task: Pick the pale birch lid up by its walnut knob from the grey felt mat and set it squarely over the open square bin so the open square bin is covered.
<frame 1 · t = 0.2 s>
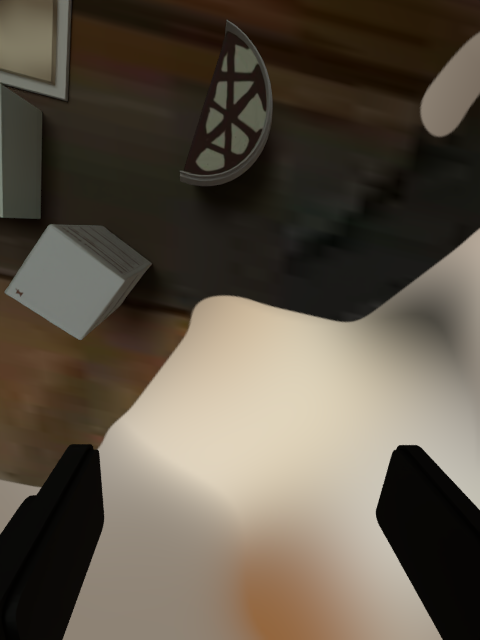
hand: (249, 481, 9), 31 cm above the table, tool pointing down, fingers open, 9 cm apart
supplement box: (112, 266, 37), on the table
grey half-round piece: (230, 147, 34), on the table
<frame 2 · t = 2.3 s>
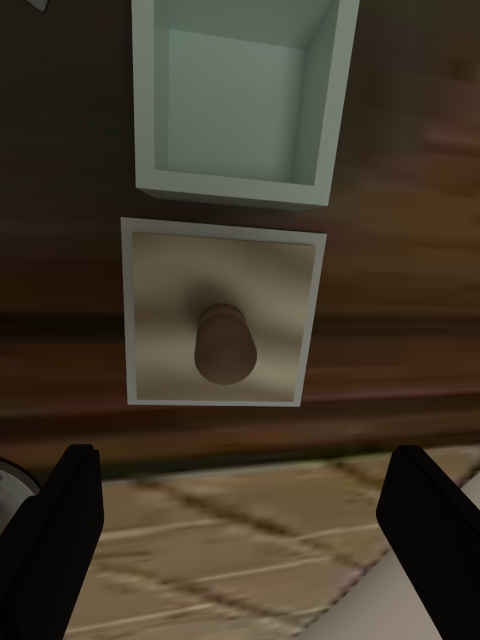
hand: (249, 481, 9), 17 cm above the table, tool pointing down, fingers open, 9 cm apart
open square bin: (233, 124, 21), on the table
mat: (221, 321, 26), on the table
lid: (221, 323, 25), point 1 cm above the table, touching mat
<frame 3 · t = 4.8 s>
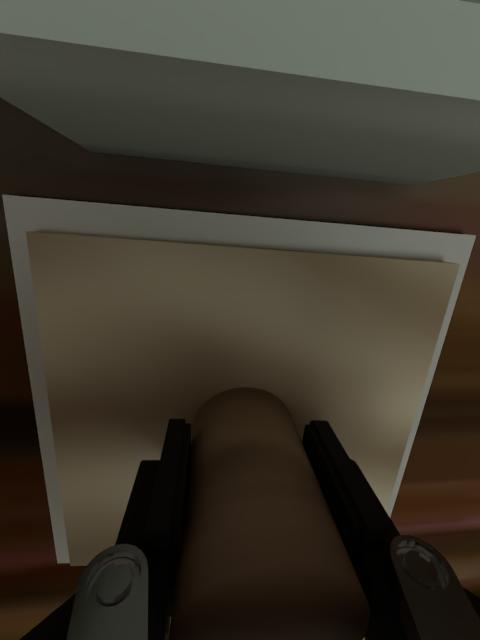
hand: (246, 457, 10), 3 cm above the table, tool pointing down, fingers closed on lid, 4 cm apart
mat: (239, 411, 13), on the table
lid: (240, 419, 12), point 1 cm above the table, touching gripper, mat
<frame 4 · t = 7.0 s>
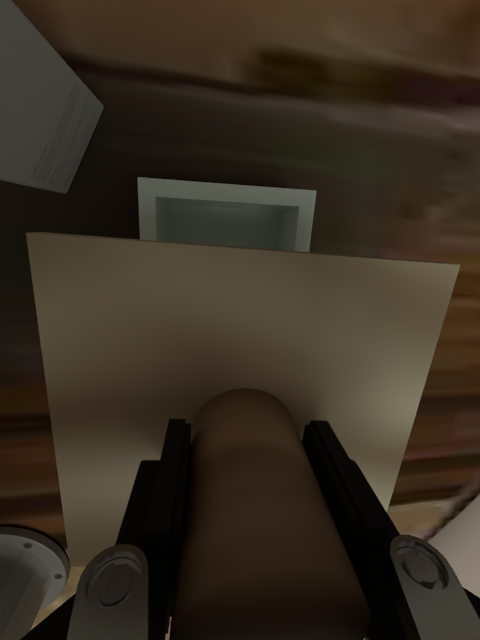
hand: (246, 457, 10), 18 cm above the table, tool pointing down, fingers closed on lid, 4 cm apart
open square bin: (222, 263, 26), on the table
supplement box: (39, 124, 22), on the table
lid: (240, 420, 12), point 16 cm above the table, touching gripper
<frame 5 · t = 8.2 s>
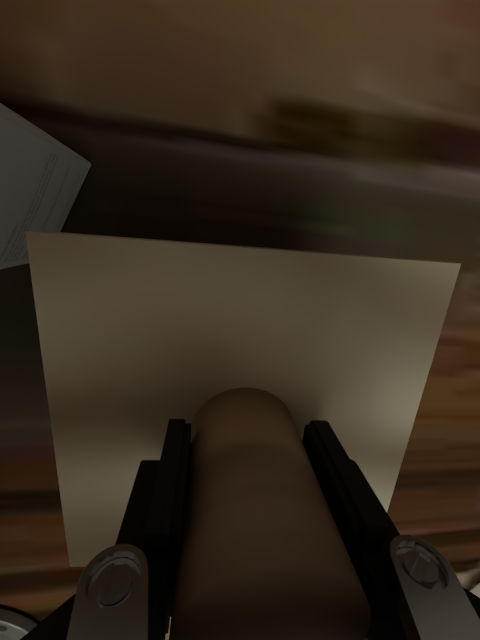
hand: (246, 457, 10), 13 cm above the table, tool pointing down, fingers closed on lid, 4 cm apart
supplement box: (15, 182, 19), on the table
lid: (240, 420, 12), point 11 cm above the table, touching gripper
when the fingers open (10 cm above the table, at t = 9.4 s): lid drops 1 cm, resting on open square bin.
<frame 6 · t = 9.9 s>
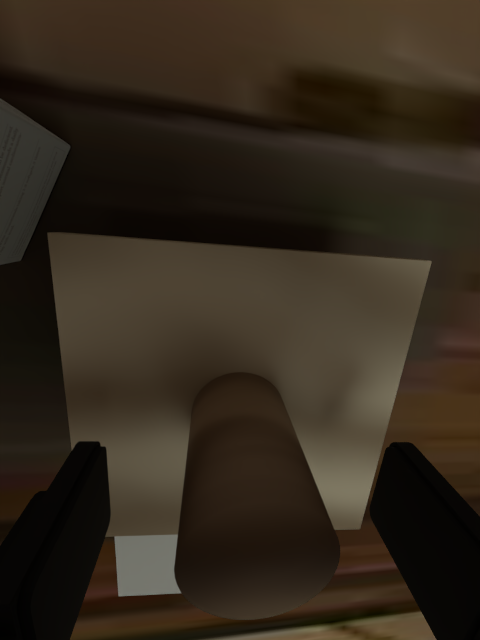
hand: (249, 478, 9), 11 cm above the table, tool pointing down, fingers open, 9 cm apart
mat: (217, 516, 24), on the table
lid: (236, 403, 14), point 6 cm above the table, touching open square bin
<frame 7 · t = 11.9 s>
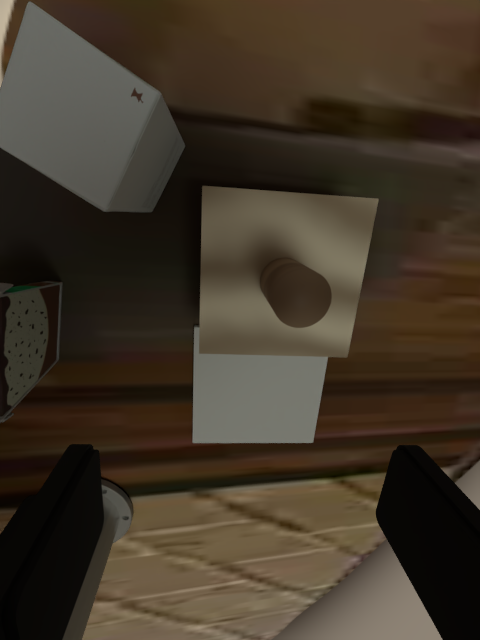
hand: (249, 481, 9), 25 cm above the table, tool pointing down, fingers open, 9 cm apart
supplement box: (134, 159, 28), on the table
grey half-round piece: (31, 316, 32), on the table
mat: (258, 387, 37), on the table
lid: (281, 279, 26), point 6 cm above the table, touching open square bin
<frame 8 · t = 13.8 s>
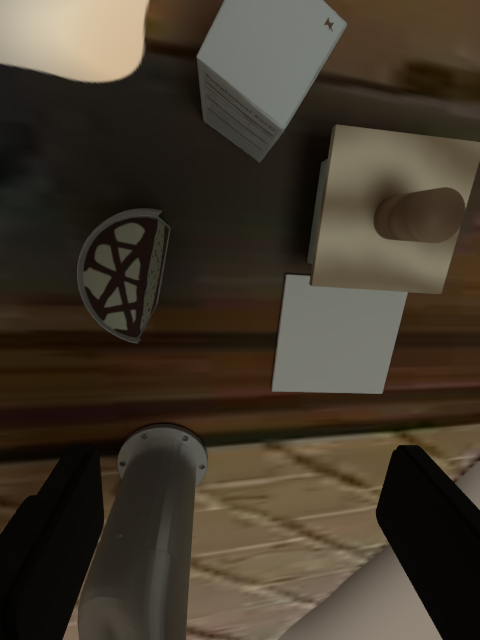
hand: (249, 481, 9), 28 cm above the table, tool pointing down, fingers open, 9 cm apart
open square bin: (358, 218, 35), on the table
supplement box: (249, 112, 31), on the table
grey half-round piece: (137, 261, 34), on the table
mat: (336, 337, 39), on the table
lid: (389, 218, 29), point 6 cm above the table, touching open square bin
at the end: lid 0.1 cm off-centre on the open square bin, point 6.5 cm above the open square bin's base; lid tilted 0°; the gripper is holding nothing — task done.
